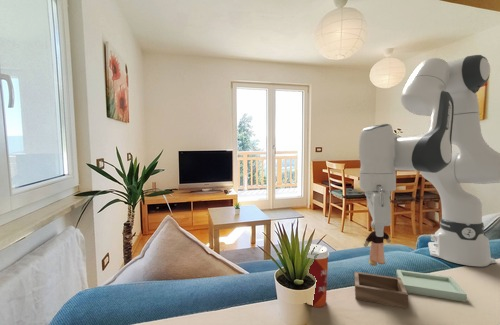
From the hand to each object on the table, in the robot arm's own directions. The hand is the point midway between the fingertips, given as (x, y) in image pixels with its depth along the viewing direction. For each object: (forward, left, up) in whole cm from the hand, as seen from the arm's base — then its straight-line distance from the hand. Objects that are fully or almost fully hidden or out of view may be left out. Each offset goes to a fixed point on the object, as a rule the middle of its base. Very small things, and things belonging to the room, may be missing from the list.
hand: (378, 233), depth 66 cm
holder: (0, 0, -17) cm, 17 cm away
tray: (-9, +13, -17) cm, 23 cm away
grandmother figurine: (-2, 0, -9) cm, 9 cm away
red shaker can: (+9, -16, -17) cm, 25 cm away
